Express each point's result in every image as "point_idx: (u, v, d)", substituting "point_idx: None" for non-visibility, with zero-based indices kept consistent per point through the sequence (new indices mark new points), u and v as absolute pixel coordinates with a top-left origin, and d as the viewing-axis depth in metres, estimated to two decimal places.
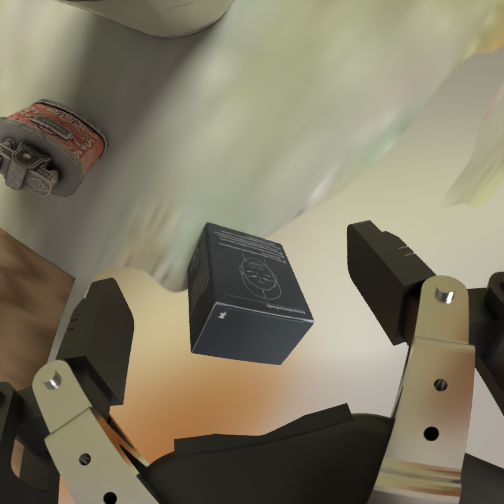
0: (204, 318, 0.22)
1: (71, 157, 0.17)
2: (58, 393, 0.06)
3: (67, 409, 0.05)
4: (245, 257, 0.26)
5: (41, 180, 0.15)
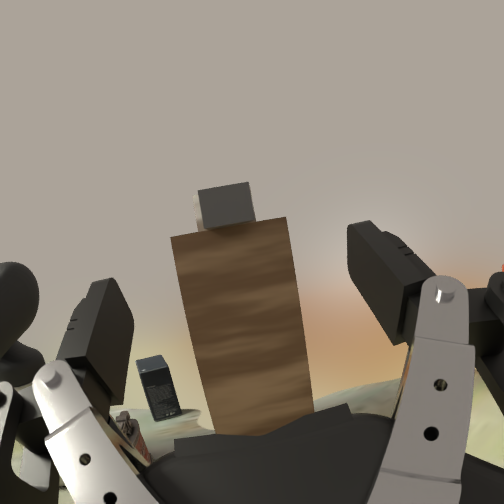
0: (151, 373, 0.52)
1: None
2: (58, 393, 0.06)
3: (67, 409, 0.05)
4: (146, 396, 0.55)
5: (121, 413, 0.39)
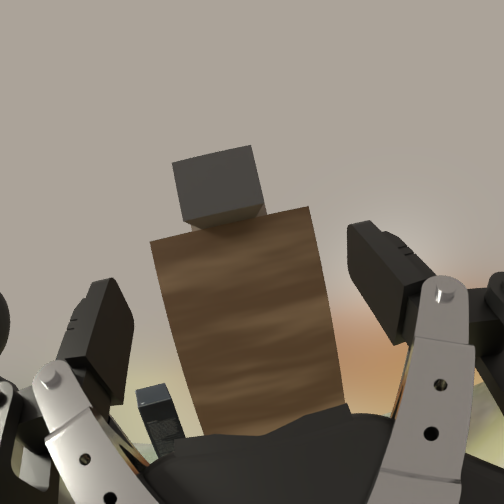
0: (151, 406, 0.43)
1: None
2: (58, 393, 0.06)
3: (67, 409, 0.05)
4: None
5: None
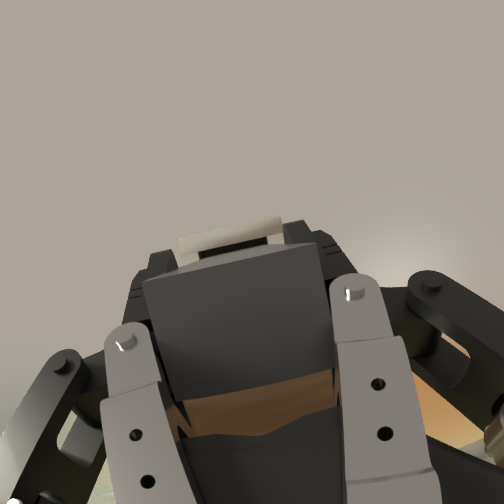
0: None
1: None
2: (129, 357, 0.07)
3: (153, 366, 0.06)
4: None
5: None
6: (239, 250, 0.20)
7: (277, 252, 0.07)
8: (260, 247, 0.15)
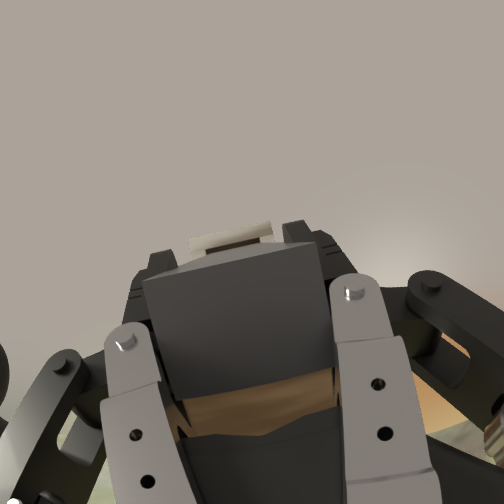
0: None
1: None
2: (129, 357, 0.07)
3: (153, 365, 0.06)
4: None
5: None
6: (239, 248, 0.20)
7: (277, 251, 0.07)
8: (260, 245, 0.15)
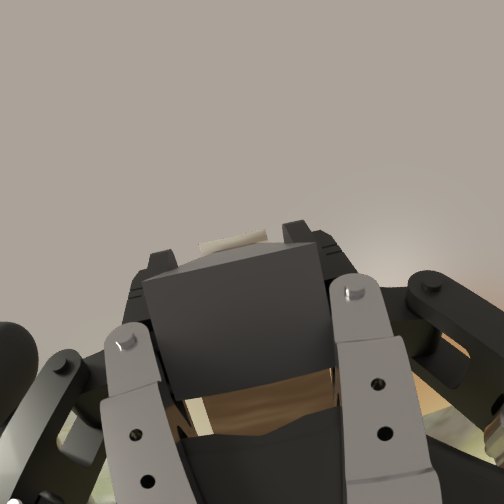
0: None
1: None
2: (129, 357, 0.07)
3: (152, 366, 0.06)
4: None
5: None
6: (239, 248, 0.20)
7: (277, 252, 0.07)
8: (260, 245, 0.15)
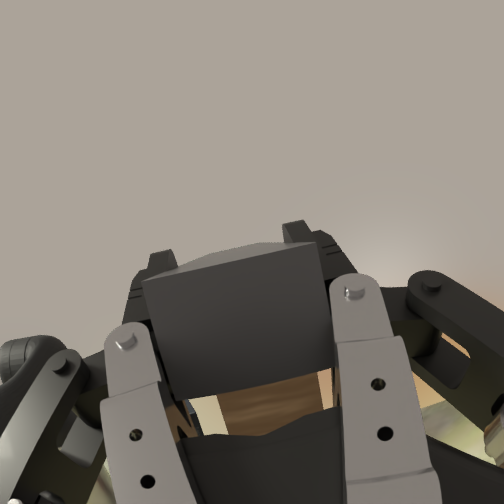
0: None
1: None
2: (129, 357, 0.07)
3: (153, 366, 0.06)
4: None
5: None
6: (239, 248, 0.20)
7: (277, 252, 0.07)
8: (260, 245, 0.15)
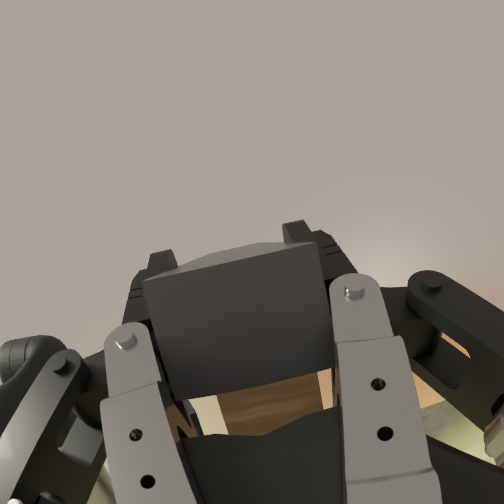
0: None
1: None
2: (129, 357, 0.07)
3: (153, 366, 0.06)
4: None
5: None
6: (239, 248, 0.20)
7: (277, 251, 0.07)
8: (260, 245, 0.15)
